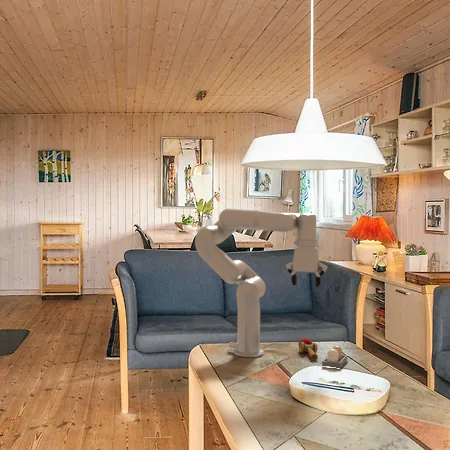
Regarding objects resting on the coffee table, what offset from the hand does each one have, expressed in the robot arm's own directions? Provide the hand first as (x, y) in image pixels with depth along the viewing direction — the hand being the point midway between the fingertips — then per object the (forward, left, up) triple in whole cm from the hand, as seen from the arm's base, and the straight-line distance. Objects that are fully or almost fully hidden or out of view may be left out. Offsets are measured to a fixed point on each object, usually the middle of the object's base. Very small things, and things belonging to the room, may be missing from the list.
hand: (306, 285), depth 248 cm
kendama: (0, +8, -31) cm, 32 cm away
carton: (+13, -2, -30) cm, 33 cm away
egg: (+13, -5, -30) cm, 33 cm away
